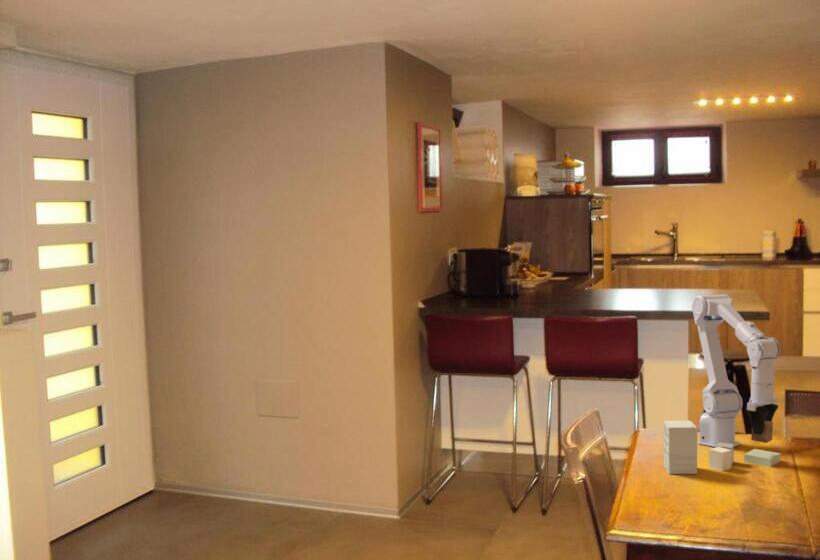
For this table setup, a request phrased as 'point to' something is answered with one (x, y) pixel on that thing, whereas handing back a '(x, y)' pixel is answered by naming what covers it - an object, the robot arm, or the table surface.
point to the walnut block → (764, 433)
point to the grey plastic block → (727, 446)
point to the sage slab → (762, 457)
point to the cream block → (720, 458)
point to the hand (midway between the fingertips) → (761, 432)
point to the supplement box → (680, 447)
